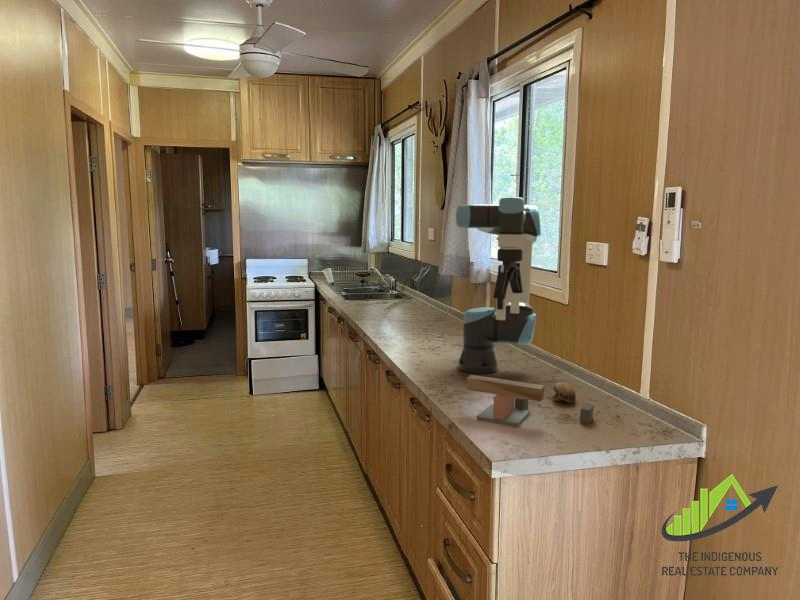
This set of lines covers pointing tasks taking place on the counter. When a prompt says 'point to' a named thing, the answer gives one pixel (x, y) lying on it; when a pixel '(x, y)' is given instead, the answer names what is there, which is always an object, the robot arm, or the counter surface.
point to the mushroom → (564, 392)
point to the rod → (506, 387)
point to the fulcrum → (503, 412)
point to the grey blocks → (585, 410)
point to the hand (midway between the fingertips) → (507, 316)
